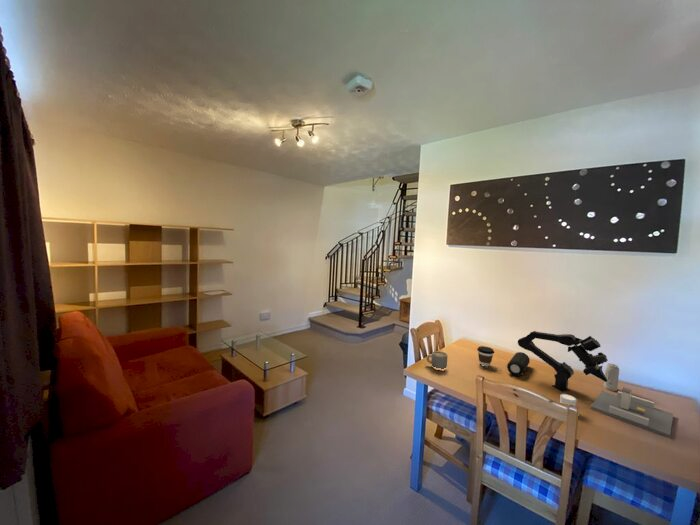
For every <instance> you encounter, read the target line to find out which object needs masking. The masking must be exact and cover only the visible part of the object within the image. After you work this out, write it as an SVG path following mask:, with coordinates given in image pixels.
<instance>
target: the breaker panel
mask: <svg viewBox="0 0 700 525" xmlns="http://www.w3.org/2000/svg"><path fill="white" fill-rule="evenodd" d="M621 396H622V391H617V394H615V393H614V394H613V393H612V392H611V393H610V392H608V391H604V390H601V391H600V392H599V394H598V396H597V397H596V398H595V399H594V400H593V402H592V404H591V405H590V409H591V411H592V410H593V411H596V412H599V413H601V414H603V415H606V416H609V417H611V418H614V419H617V420H620V421H623V422H626V423H628V424H631V425H633V426H636V427H639V428H642V429H644V430H647V431H649V432H652V433H654V434H657V435H661V436H663V437H666V438H669V439H670V438H671V432H672V425H673V420H674V413H672V412H669V411H667V410H664V409H660V408H657V407H655V402H654V401H652V400H649V399H645V398H642V397H638V396H635V395H633V394H631V399H630V407H629V409H628V410H627V409H624V408H621V407H620V405H621Z"/></svg>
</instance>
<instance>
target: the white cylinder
mask: <svg viewBox="0 0 700 525" xmlns="http://www.w3.org/2000/svg"><path fill="white" fill-rule="evenodd" d="M559 396H560V403H563V404H568V405H573V406H575V407H576V405H577V398H576V397H575V396H573V395H570V394H567V393H562V394H560V395H559Z"/></svg>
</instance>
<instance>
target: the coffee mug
mask: <svg viewBox="0 0 700 525" xmlns="http://www.w3.org/2000/svg"><path fill="white" fill-rule="evenodd" d="M430 359H431V360H430ZM426 360H427V363H429V364H430V365H431V364H432V365H431V367H432V366H433V367H436V368H441V369H444V368H446V367H447V368H448V354H447V353H446V352H444V351H440V350H439V351H438V350H434V351H432V352H431V353H429V354H428V355H427V356H426Z"/></svg>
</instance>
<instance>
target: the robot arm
mask: <svg viewBox="0 0 700 525" xmlns="http://www.w3.org/2000/svg"><path fill="white" fill-rule="evenodd" d="M534 339H539V340H544V341H551V342H556V343H559V344H561V345H564V346H567V352H568V353H570V352H573V354H575V356H576V357H577V358H578V361H579V362H582V364H583V365H584V368H583V371H582V372H583V373H584V374H585V376H588V375H593V376H594V377H596V378H598V379H600V380H602V381H603V382H604V381H605V382H606V381H608V380H607V378H606V377H605V372H604V371H603V365H602V364H604V363H607V362H608V361H609V359H608V358H607V355H606V353H605V354H604V353H603V352H602V351H601V352H598V353H597V354H595V355H593V354H592V353H589V352H592V351H595V350H597V349H598V348H601V347H602V346H601V344H600V342H599V341H598V340H597V339H595V338H594V337H592V335H589V336H587V337H586V338H584V339H582V338H579V337H576V336H575V335H574V334H567V333H565V334H563V333H562V334H556V333H547V332H543V331H542V332H541V331H536V330H532V331H530V332H529V334H527V335H526V336H523V337H521V338H519V339H518V340H517V345H518V346H519V347H520V348H522V349H524V350H526V351H528V352H531V353H533V354H534V355H535V356H537V357H538V359H541V360H542V361H543V362H545V363H546V364H547V365H549V366H550V367H551V368H553V369H554V371H555V372H556V373H555V374H554V379H555V380H554V381H555V382H554V384H553V385H552V387H553V388H555V389H557V390H559V391H561V392H567V391H571V389H570V388H568V387H569V379H571V378H572V377H573V376H574V374H575V372H574V369H573V368H572V366H571V365H569V364H567V362H565V361H563V362H562V363H561V362H559V361H558V360H556V359H555V358H554V357H552V356H550V355H549V354H547V353H546V352H544V351H543V350H542V348H541V349H540V348H539V347H538V346H536V344H535V343H534Z"/></svg>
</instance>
